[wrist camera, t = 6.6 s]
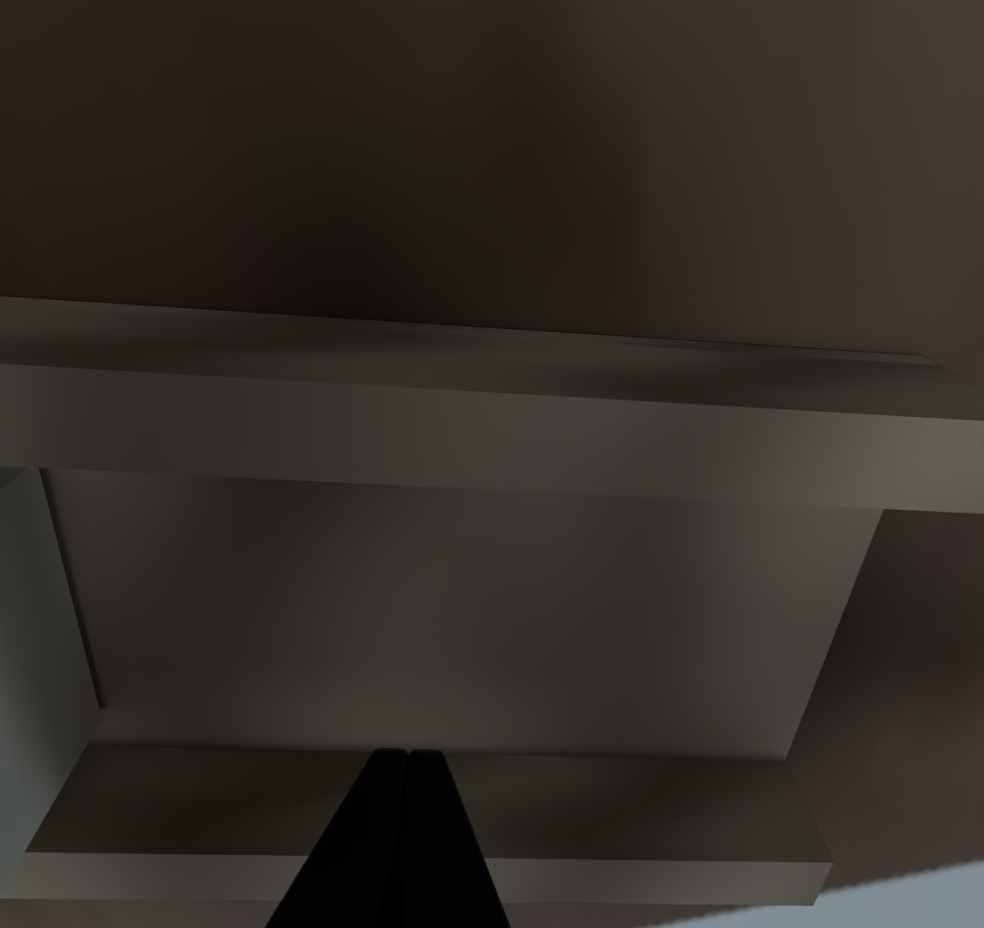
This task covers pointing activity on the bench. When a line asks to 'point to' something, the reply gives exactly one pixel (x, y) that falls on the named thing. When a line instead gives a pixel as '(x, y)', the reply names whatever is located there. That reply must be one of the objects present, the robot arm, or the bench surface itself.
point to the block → (36, 667)
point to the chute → (456, 587)
